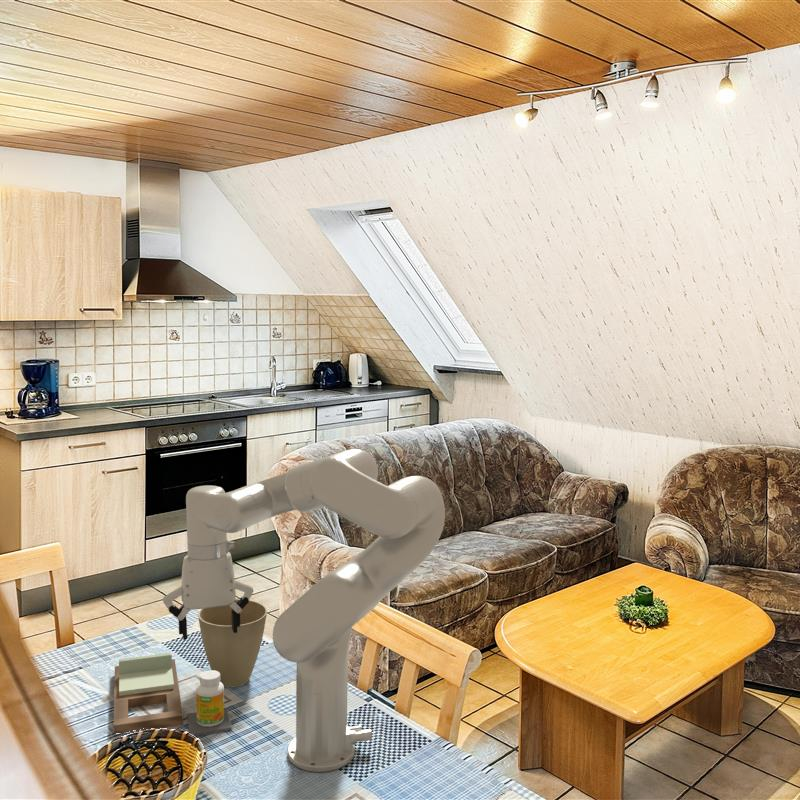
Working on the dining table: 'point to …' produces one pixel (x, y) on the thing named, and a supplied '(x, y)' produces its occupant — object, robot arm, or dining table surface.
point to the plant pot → (232, 641)
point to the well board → (145, 699)
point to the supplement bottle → (210, 699)
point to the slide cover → (145, 674)
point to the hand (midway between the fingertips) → (209, 633)
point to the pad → (202, 730)
